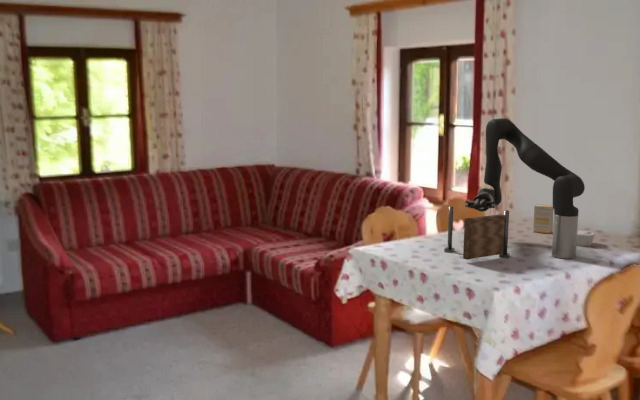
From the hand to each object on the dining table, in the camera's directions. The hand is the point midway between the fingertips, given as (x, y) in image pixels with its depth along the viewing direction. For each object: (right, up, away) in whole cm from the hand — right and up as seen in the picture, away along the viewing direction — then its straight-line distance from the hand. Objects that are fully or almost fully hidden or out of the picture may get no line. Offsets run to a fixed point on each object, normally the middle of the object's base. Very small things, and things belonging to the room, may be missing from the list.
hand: (476, 207), depth 272 cm
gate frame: (+1, -19, +3) cm, 20 cm away
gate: (+1, -19, -7) cm, 21 cm away
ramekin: (+51, -17, +23) cm, 59 cm away
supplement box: (+43, -13, +47) cm, 65 cm away
